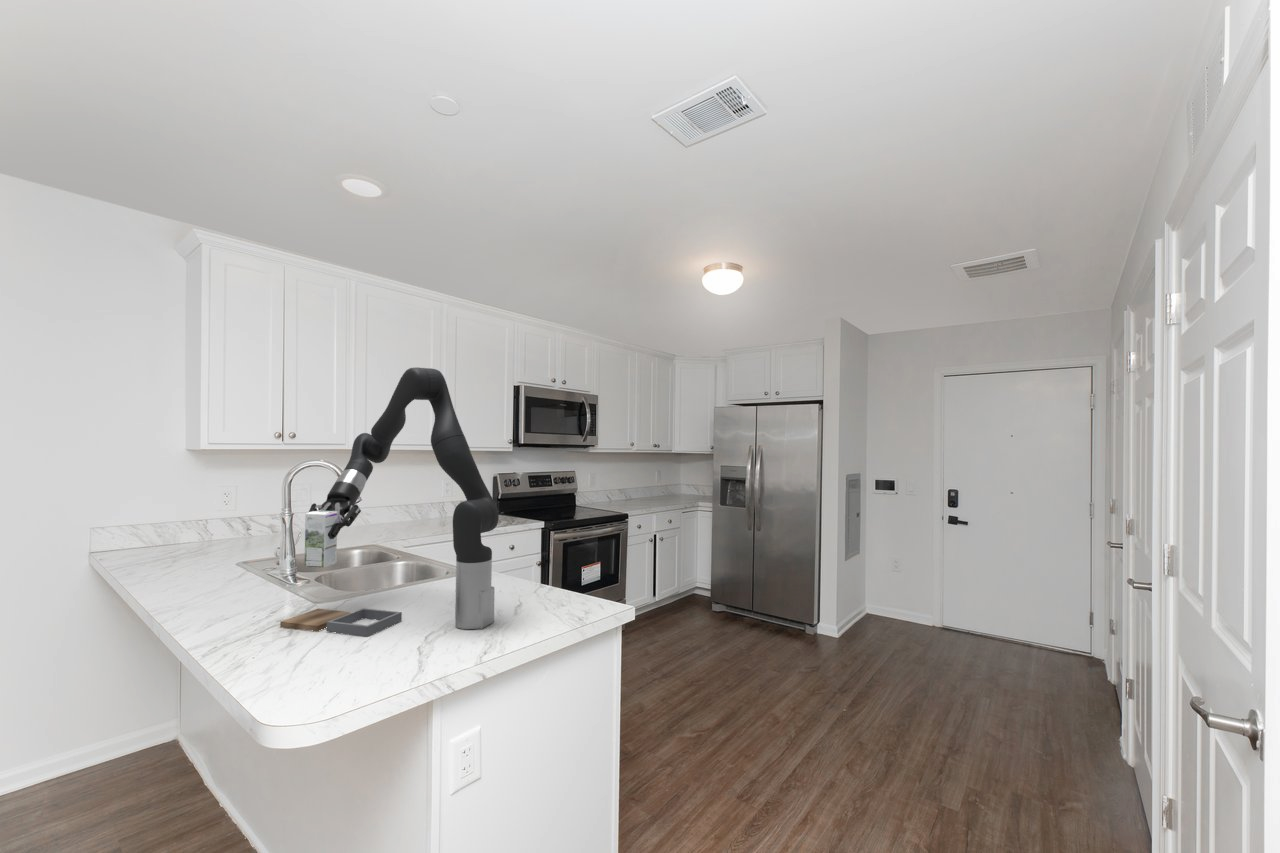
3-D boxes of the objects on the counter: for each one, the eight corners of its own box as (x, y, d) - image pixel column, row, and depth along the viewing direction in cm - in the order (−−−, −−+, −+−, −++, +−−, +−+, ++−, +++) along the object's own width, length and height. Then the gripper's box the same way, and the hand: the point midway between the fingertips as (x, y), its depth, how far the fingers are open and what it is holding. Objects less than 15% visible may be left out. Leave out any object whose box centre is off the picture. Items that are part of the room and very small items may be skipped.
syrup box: (337, 563, 154) (338, 510, 154) (323, 568, 148) (324, 513, 149) (317, 562, 155) (319, 509, 155) (303, 567, 149) (304, 512, 149)
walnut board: (352, 617, 155) (353, 612, 155) (317, 631, 143) (317, 625, 143) (317, 613, 158) (318, 608, 158) (280, 627, 147) (280, 621, 147)
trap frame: (401, 621, 152) (401, 612, 152) (367, 636, 140) (367, 626, 140) (363, 617, 156) (363, 608, 156) (326, 631, 144) (326, 621, 144)
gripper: (318, 479, 161) (287, 528, 149) (365, 480, 160) (338, 529, 147) (330, 496, 166) (301, 544, 154) (376, 497, 165) (350, 545, 153)
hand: (319, 536), depth 151 cm, fingers closed on syrup box, 5 cm apart
